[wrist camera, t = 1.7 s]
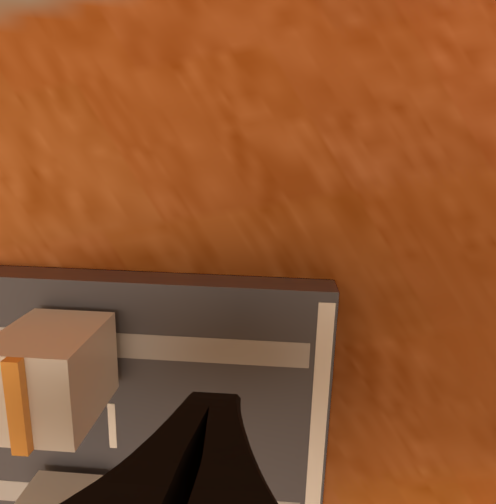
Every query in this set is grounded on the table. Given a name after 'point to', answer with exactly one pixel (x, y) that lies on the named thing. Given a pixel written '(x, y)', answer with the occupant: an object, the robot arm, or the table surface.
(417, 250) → the table surface
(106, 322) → the fader
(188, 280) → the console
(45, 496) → the fader
